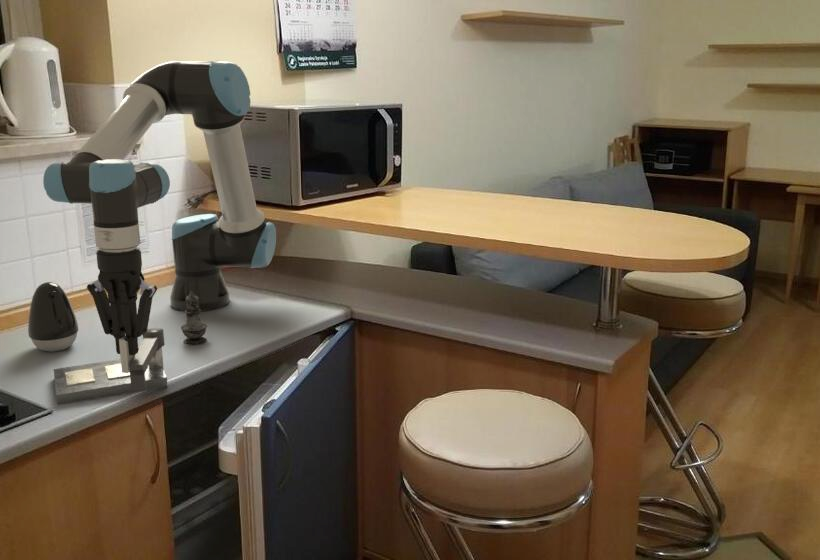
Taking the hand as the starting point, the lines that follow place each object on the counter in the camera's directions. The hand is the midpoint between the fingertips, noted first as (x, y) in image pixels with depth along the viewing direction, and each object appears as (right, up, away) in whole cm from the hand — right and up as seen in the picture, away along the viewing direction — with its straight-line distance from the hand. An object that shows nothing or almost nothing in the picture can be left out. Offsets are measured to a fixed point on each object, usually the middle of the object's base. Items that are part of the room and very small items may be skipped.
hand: (129, 370), depth 148 cm
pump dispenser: (-27, +1, +29) cm, 40 cm away
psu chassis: (-8, -4, +10) cm, 13 cm away
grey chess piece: (+3, +3, +34) cm, 34 cm away
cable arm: (+2, -1, +6) cm, 6 cm away
